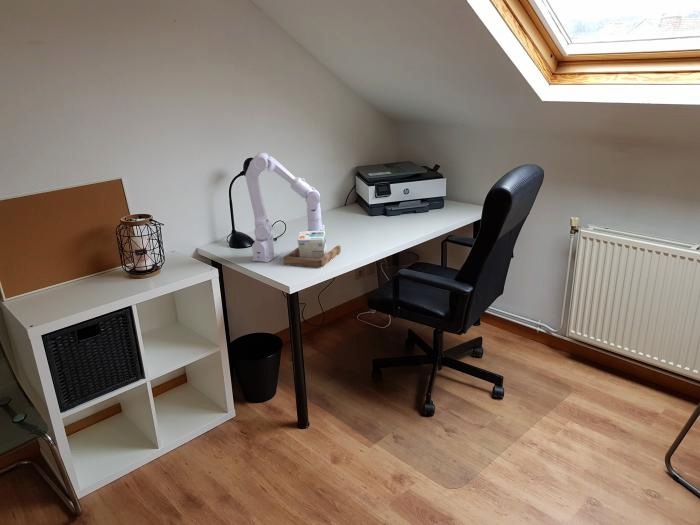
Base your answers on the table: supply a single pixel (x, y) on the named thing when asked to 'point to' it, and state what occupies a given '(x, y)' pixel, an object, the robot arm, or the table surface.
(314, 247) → the light bulb box
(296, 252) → the walnut holder
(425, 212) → the table surface
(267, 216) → the robot arm
